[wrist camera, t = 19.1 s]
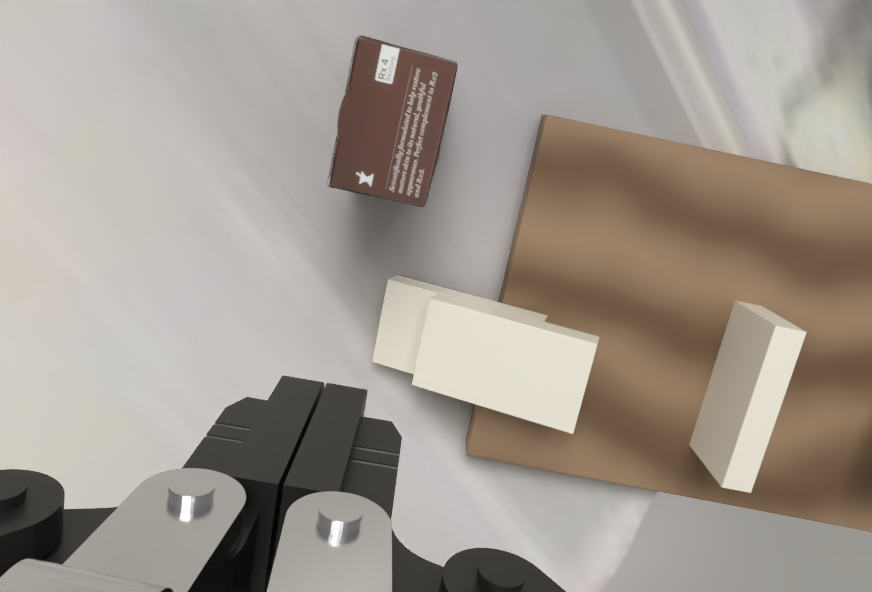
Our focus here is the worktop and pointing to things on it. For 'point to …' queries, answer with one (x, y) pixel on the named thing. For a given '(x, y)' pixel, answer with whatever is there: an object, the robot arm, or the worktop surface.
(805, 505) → the cutting board
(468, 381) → the domino
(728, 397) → the domino
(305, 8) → the worktop surface
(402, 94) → the box
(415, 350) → the domino
